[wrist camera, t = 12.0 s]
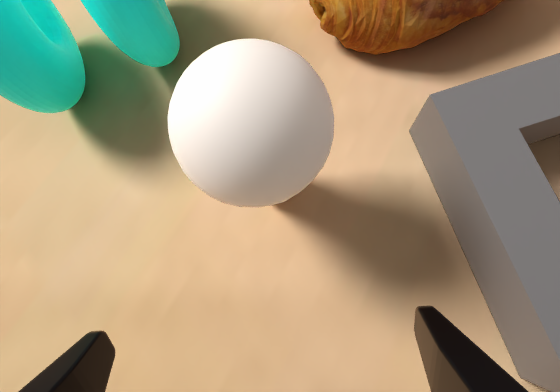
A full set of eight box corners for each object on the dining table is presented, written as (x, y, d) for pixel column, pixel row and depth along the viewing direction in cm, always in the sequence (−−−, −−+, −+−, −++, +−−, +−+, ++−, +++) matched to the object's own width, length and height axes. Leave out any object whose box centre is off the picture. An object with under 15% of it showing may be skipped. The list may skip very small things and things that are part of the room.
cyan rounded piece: (202, 85, 23) (119, -59, 13) (68, 146, 23) (-113, 45, 13) (159, -17, 26) (64, -198, 16) (39, 37, 26) (-129, -113, 16)
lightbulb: (213, 217, 20) (98, 143, 10) (249, 129, 22) (182, -22, 11) (309, 251, 19) (296, 208, 9) (341, 156, 20) (365, 16, 10)
